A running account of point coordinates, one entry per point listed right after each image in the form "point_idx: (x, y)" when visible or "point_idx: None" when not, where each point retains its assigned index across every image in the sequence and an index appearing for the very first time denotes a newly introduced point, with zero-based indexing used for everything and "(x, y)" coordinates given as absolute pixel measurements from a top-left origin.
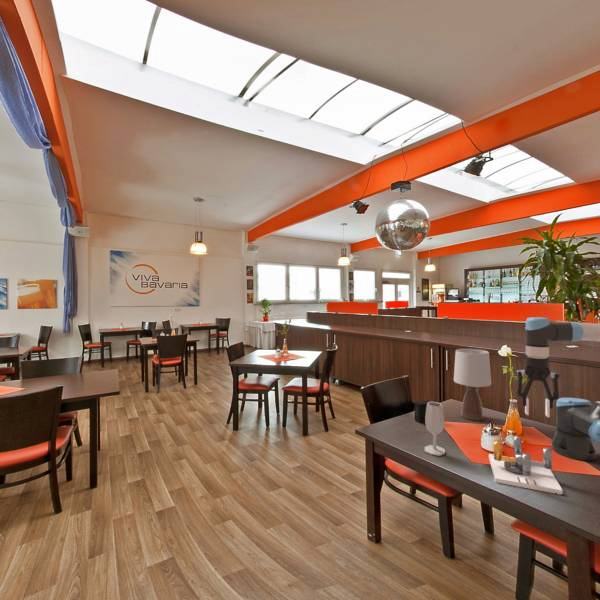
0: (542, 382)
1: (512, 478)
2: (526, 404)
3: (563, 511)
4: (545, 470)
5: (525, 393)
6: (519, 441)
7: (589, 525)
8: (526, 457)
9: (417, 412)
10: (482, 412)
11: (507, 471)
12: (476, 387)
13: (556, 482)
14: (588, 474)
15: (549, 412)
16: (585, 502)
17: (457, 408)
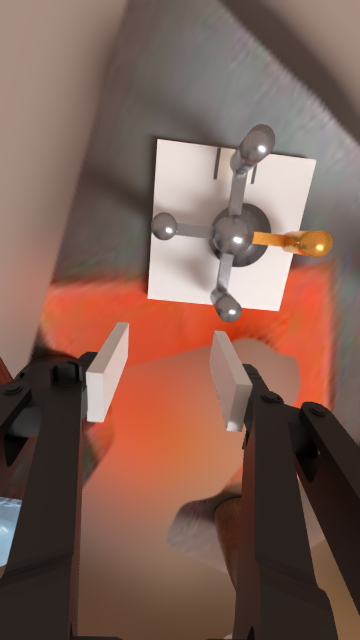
0: (75, 608)
1: (268, 173)
2: (239, 360)
3: (187, 39)
4: (163, 252)
5: (276, 418)
6: (225, 297)
7: None
8: (265, 126)
9: None
10: (221, 526)
11: (266, 214)
12: None
13: (158, 185)
14: (62, 283)
15: (112, 332)
16: (114, 117)
17: None
